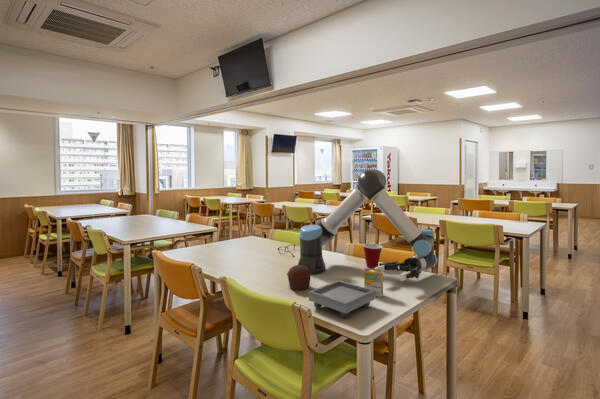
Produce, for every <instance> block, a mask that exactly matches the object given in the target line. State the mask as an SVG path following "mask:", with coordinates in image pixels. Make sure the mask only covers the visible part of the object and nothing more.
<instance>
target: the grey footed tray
mask: <svg viewBox="0 0 600 399" xmlns="http://www.w3.org/2000/svg"><path fill="white" fill-rule="evenodd" d="M375 299H376V296H375V290H372V289H368V288H365V287H364V286H360V285H357V284H353V283H349V282H346V281H343V280H336V281H333V282H331V283H328V284H325V285H322V286H320V287H317V288H314V289H312V290H310V291H308V301H310V302H312V303H313V306H314V308H316V309H321V308H322V307H323V306H324V307H326V308H330V309H333V310H334V311H338V312H340V317H341V318H344V319H348V318H349V316H350V312H352V311H354V310H356V309H358V308H360V307H363V308H369V307H370V305H371V304H370V303H371V302H373V301H375ZM320 307H321V308H320ZM347 317H348V318H347Z"/></svg>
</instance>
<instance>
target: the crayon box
mask: <svg viewBox="0 0 600 399" xmlns="http://www.w3.org/2000/svg"><path fill="white" fill-rule="evenodd" d="M363 271H364V273H363V274H364V276H363V277H364V278H363V279H364V285H363V287H365V288H368V289H372V290H375V297H379V298H382V297H383V295H384V289H383V288H384V283H383V282H384V278H383V277H384V275H383V274H384V273H383V272H384V271H383V272H381V270H379V269H374V268H368V267H367V268H366V267H364V270H363ZM374 271H377V272H374Z"/></svg>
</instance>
